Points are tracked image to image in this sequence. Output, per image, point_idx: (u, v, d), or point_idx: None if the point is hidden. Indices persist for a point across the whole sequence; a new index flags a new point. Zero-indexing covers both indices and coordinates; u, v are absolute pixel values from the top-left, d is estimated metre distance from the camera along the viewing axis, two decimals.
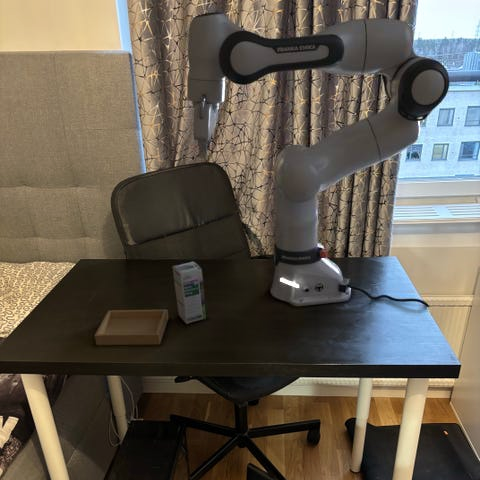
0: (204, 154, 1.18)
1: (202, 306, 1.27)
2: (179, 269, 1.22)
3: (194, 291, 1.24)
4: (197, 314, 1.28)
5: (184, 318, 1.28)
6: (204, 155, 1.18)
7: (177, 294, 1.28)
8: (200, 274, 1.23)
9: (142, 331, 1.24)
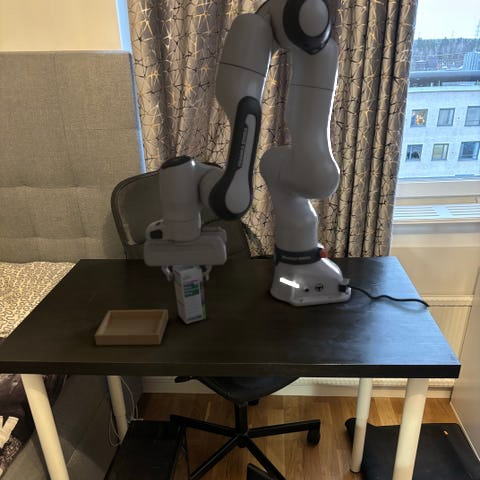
0: None
1: (202, 306, 1.27)
2: (179, 269, 1.22)
3: (194, 291, 1.24)
4: (197, 314, 1.28)
5: (184, 318, 1.28)
6: (208, 276, 1.25)
7: (177, 294, 1.28)
8: (200, 274, 1.23)
9: (142, 331, 1.24)
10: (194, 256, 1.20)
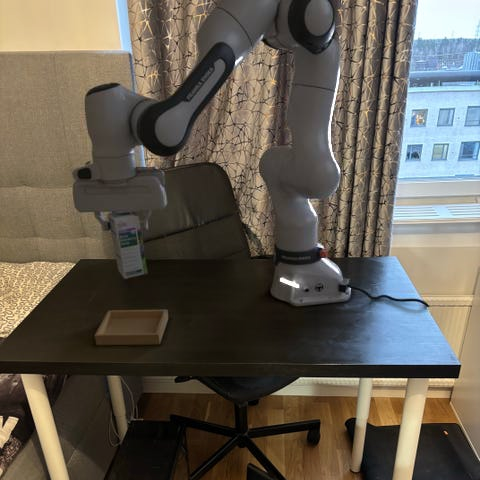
0: (147, 224, 1.13)
1: (142, 259, 1.15)
2: (113, 216, 1.10)
3: (131, 241, 1.12)
4: (136, 268, 1.15)
5: (122, 272, 1.15)
6: (147, 225, 1.13)
7: (114, 246, 1.15)
8: (137, 222, 1.11)
9: (142, 331, 1.24)
10: (129, 201, 1.08)
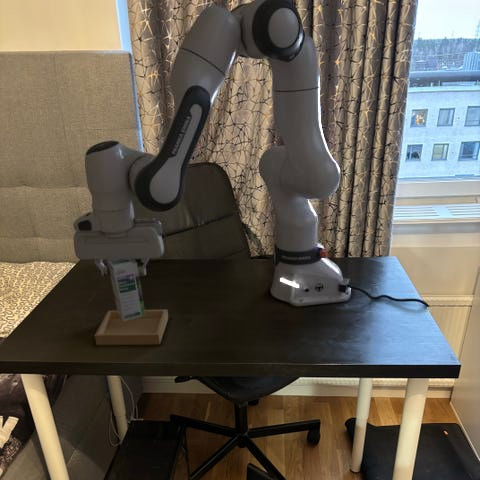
0: (145, 270, 1.17)
1: (140, 303, 1.20)
2: (113, 263, 1.15)
3: (130, 286, 1.17)
4: (135, 311, 1.20)
5: (121, 315, 1.20)
6: (145, 270, 1.17)
7: (114, 290, 1.20)
8: (136, 268, 1.16)
9: (142, 331, 1.24)
10: (128, 249, 1.13)
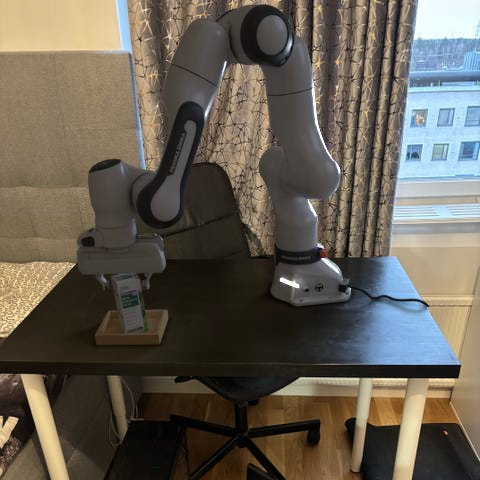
0: (148, 284, 1.19)
1: (143, 317, 1.22)
2: (116, 279, 1.17)
3: (133, 302, 1.19)
4: (138, 326, 1.22)
5: (124, 330, 1.22)
6: (148, 284, 1.19)
7: (117, 305, 1.22)
8: (139, 284, 1.18)
9: None
10: (130, 264, 1.14)
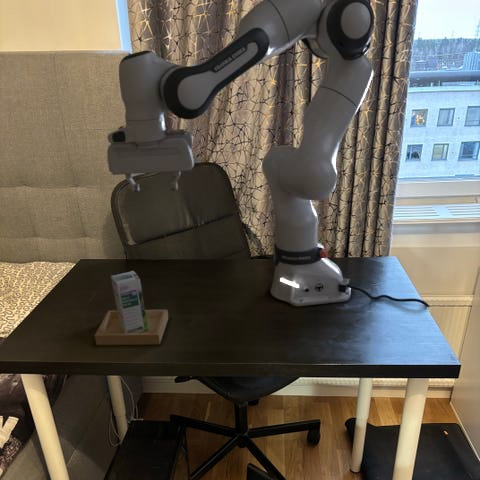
0: (177, 185, 1.21)
1: (143, 317, 1.22)
2: (116, 279, 1.17)
3: (133, 302, 1.19)
4: (138, 326, 1.22)
5: (124, 330, 1.22)
6: (177, 185, 1.21)
7: (117, 305, 1.22)
8: (139, 284, 1.18)
9: None
10: (160, 162, 1.16)
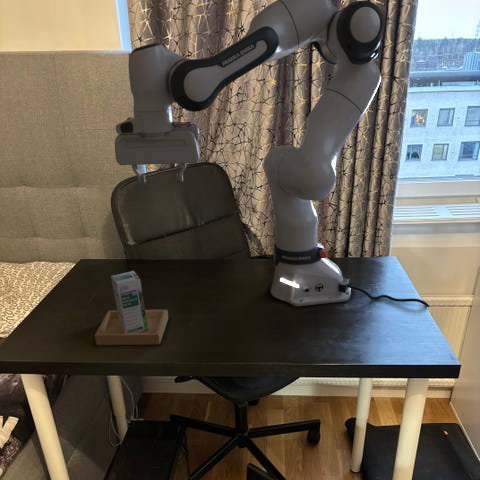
0: (182, 177, 1.23)
1: (143, 317, 1.22)
2: (116, 279, 1.17)
3: (133, 302, 1.19)
4: (138, 326, 1.22)
5: (124, 330, 1.22)
6: (182, 177, 1.23)
7: (117, 305, 1.22)
8: (139, 284, 1.18)
9: None
10: (166, 153, 1.18)
